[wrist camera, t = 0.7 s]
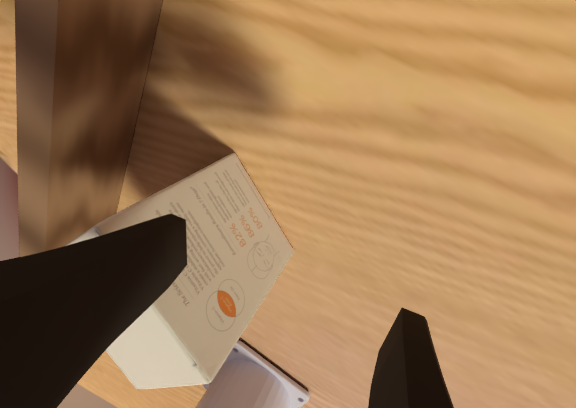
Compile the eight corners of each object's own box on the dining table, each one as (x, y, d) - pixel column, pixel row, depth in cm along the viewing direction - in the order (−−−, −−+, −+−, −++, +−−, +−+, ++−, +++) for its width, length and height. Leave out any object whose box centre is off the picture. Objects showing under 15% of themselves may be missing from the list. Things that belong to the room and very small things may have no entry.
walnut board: (108, 246, 29) (43, 285, 24) (88, 230, 29) (19, 266, 24) (172, -46, 17) (63, -93, 11) (136, -70, 17) (12, -125, 12)
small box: (183, 182, 23) (30, 262, 14) (237, 149, 20) (88, 222, 11) (239, 271, 24) (134, 394, 15) (297, 252, 21) (209, 389, 13)
